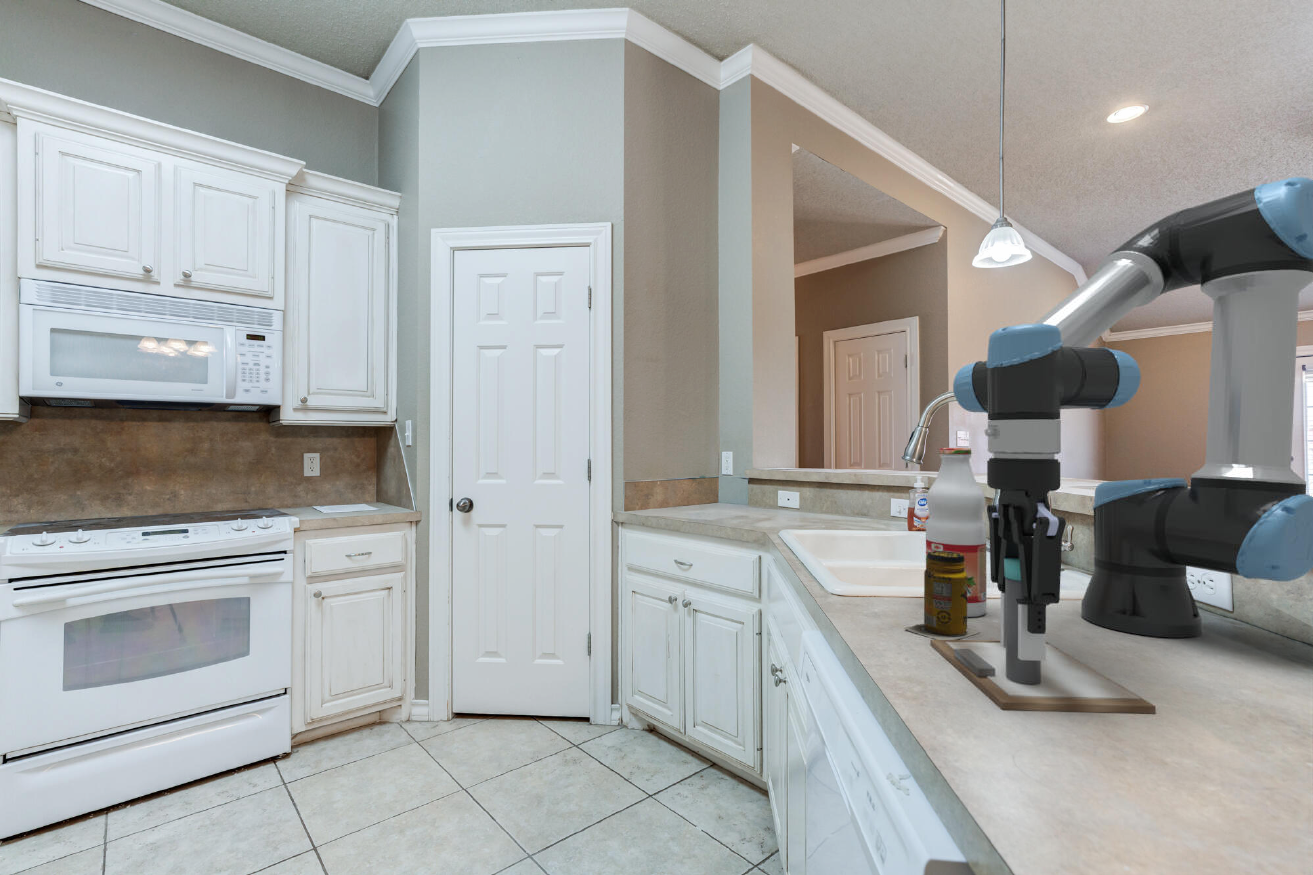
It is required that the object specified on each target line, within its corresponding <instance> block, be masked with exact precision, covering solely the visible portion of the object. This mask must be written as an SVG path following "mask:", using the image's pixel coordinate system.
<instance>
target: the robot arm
mask: <svg viewBox="0 0 1313 875" xmlns="http://www.w3.org/2000/svg"><path fill="white" fill-rule="evenodd" d="M1312 283H1313V179H1312V178H1309V177H1303V176H1294V177H1289V178H1285V179H1281V180H1278V181H1274V182H1271V183H1261V184H1259V185H1257V186H1256V187H1253V188H1250V189H1247V190H1243V191H1240V192H1237V193H1233V194H1230V195H1227V196H1225V197H1221V198H1218V199H1214V200H1212V201H1211V200H1210V201H1209V202H1205V203H1202V204H1198V205H1196V206H1193V207H1189V208H1188V207H1187V208H1185V209H1181V210H1179V211H1176V212H1173V213H1171V214H1169V215H1167V216H1164V217H1163V218H1161V219H1159V220H1158V221H1155V222H1153V223H1152V224H1150V225H1149V226H1148V227H1145V229H1143V230H1141V231H1140V232H1138V233H1137V234H1135V235H1134V236H1132V237H1131V238H1129V239H1128V240H1127V241H1125V242H1124V243H1123V244H1121V245H1120V246H1119V247H1117V248H1116V249H1114V250H1113V251H1112V252H1111V253H1109V254H1108V255H1107V256H1106V257H1104V258H1103V259H1102V260H1101V261H1100V263H1098V265H1097V267H1096V270H1095V273H1094V275H1093V276H1092V277H1089V279H1088V280H1087V281H1085V282H1084V283H1083V284H1082V285H1080V286H1079V287H1078V288H1076V289H1075V290H1074V291H1073V292H1072V293H1070V294H1069V295H1067V297H1065V298H1064V299H1063V300H1061V301H1060V302H1059V303H1058V304H1057V305H1056V306H1054V307H1052V309H1051V310H1049V311H1048V312H1046V314H1044V315H1043V316H1042V317H1040V319H1038V320H1037V321H1036V322H1034V323H1026V324H1025V323H1024V324H1019V325H1018V324H1017V325H1009V326H1006V327H1001V328H998V329H996V330H995V331H993V332H992V333H991V334H990V336H989V339H988V345H987V347H988V348H987V359H986V360H985V361H982V360H978V361H974V362H973V363H968V364H966V365H964V366H961V368H960V369H959V370H958V371H957V373H956V374H955V376H954V379H953V384H952V390H953V394H954V397H955V400H956V402H957V404H959V406H960V407H961V408H962V409H964V411H967V412H971V413H987V428H985V429H984V435H985V436H986V437H987V451H988V452H989V453H990V454H992V456H993V457H989V458H988V460H987V462H986V464H987V465H986V471H987V472H986V475H987V476H986V478H987V479H986V480H987V481H986V484H987V486H988V487H989V488H990V489H995V490H999V496H998V498H997V504H988V505H986V513H987V514H986V515H987V518H988V524H989V525H988V526H989V527H988V528H989V531H988V532H989V559H990V560H989V561H990V562H989V564H990V566H989V567H990V580H991V582H992V583H993V584H996V585H997V586H996V587H997V590H998V591H999V592H1000V641H1001V646H1002V647H1003V648H1006V610H1005V576H1004V559H1006V558H1019V561H1020V573H1021V584H1022V596H1023V599H1016V601H1017V603H1018V658H1019V659H1021V660H1036V661H1046V642H1047V632H1046V631H1047V615H1046V614H1047V606H1049V605H1053V604H1055V605H1056V604H1057V605H1058V604H1059V602H1060V599H1061V597H1060V596H1061V576H1062V575H1061V573H1062V572H1061V571H1062V549H1063V548H1062V547H1063V546H1062V545H1063V535H1064V532H1065V529H1066V525H1067V522H1066V518H1065V517H1064V516H1054V515H1053V514H1052V512H1051V504H1050V502H1049V501H1050V500H1049V496H1048V494H1049V492H1055V491H1058V490H1059V489H1060V487H1061V461H1059V459H1058V458H1056V455H1059V454H1060V453H1061V452H1062V448H1061V446H1062V445H1061V441H1062V440H1061V438H1062V435H1061V434H1062V431H1061V430H1062V428H1061V427H1062V424H1061V423H1062V422H1061V410H1073V409H1079V410H1080V409H1090V410H1092V411H1093V410H1105V409H1115V408H1117V407H1121V406H1123V405H1125V404H1127V403H1128V402H1129V401H1131V399H1132V398H1133V397H1134V396H1135V395H1136V394H1137V391H1138V390H1139V388H1140V385H1141V379H1142V378H1141V377H1142V376H1141V369H1140V367H1139V364H1138V362H1137V361H1136V360H1135V358H1134V357H1132V356H1131V355H1130V354H1128V353H1126V352H1124V351H1122V350H1117V349H1110V348H1107V347H1104V346H1103V347H1102V346H1101V347H1090V345H1091V344H1092V343H1094V342H1095V341H1096V340H1098V339H1099V338H1100V337H1102V336H1103V334H1105V333H1106V332H1107V331H1108V330H1109V329H1111V328H1112V327H1114V325H1115V324H1117V323H1118V322H1119V321H1120V320H1121V319H1123V318H1124V317H1125V316H1126V315H1127V314H1128V313H1130V312H1131V311H1132V310H1134V309H1135V308H1139V307H1143V306H1146V305H1149V304H1150V303H1152V302H1153V301H1154V300H1156V299H1157V298H1158V297H1159V296H1161V295H1164V294H1166V293H1169V292H1172V291H1175V290H1179V289H1183V288H1188V287H1192V286H1197V285H1198V286H1199V285H1200V291H1201V292H1202V293H1203V294H1204V295H1207V296H1208V297H1210V298H1211V300H1212V301H1213V305H1212V306H1213V308H1212V309H1213V310H1212V325H1211V326H1212V327H1211V328H1212V329H1211V347H1210V367H1209V369H1210V372H1209V385H1208V386H1209V387H1208V388H1209V391H1208V407H1207V408H1208V410H1207V411H1208V412H1207V426H1206V427H1207V428H1206V448H1205V464H1204V465H1203V466H1202V467H1201V468H1200V469H1198V470H1196V471H1195V472H1194V473H1192V474H1191V476H1190V488H1189V484H1188V483H1187V480H1186V479H1185V478H1183V477H1164V478H1163V477H1162V478H1148V479H1147V478H1146V479H1145V478H1144V479H1130V480H1129V479H1127V480H1124V479H1123V480H1113V481H1112V480H1111V481H1105V482H1101V483H1100V484H1098V485H1097V486H1096V488H1095V490H1094V501H1093V505H1092V511H1093V552H1094V553H1093V556H1094V558H1093V564H1094V565H1093V567H1094V568H1093V572H1092V575H1091V577H1090V580H1089V582H1088V585H1087V587H1086V590H1085V593H1084V596H1083V598H1082V600H1081V611H1080V612H1081V617H1082V618H1083V619H1084V620H1086V621H1088V622H1089V623H1093V624H1095V625H1097V626H1101V627H1103V628H1108V629H1111V630H1114V631H1115V630H1117V631H1120V632H1125V633H1131V634H1134V635H1135V634H1136V635H1143V636H1150V637H1160V638H1161V637H1162V638H1191V637H1197V636H1199V635H1202V633H1203V632H1202V631H1203V630H1202V628H1203V627H1202V623H1203V622H1202V616H1201V613H1200V612H1199V609H1198V606H1197V603H1196V601H1195V598H1194V595H1193V594H1192V591H1191V588H1190V586H1189V584H1188V578H1187V567H1190V568H1195V569H1201V570H1206V571H1207V570H1208V571H1213V572H1217V573H1218V572H1219V573H1223V574H1224V573H1225V574H1229V575H1235V576H1240V577H1243V578H1245V579H1247V580H1248V579H1249V580H1251V579H1255V580H1265V581H1271V582H1272V581H1274V582H1291V581H1295V580H1298V579H1300V578H1302V577H1303V576H1305V575H1307V574H1308V573H1309V572H1311V570H1312V569H1313V496H1312V495H1310V494H1307V481H1305V480H1304V479H1303V478H1302V477H1301V476H1300V475H1298V474H1297V473H1296V472H1294V471H1293V468H1292V450H1293V449H1292V448H1293V428H1294V427H1293V426H1294V410H1295V409H1294V406H1295V402H1294V401H1295V387H1296V386H1295V384H1296V383H1295V382H1296V362H1297V361H1296V360H1297V344H1298V343H1297V342H1298V341H1297V340H1298V322H1299V318H1298V317H1299V300H1300V299H1299V297H1300V296H1299V295H1300V293H1301V292H1302V290H1304V289H1305V288H1307V287H1308V286H1309V285H1311V284H1312Z"/></svg>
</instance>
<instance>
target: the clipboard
mask: <svg viewBox="0 0 1313 875" xmlns="http://www.w3.org/2000/svg"><path fill="white" fill-rule="evenodd" d="M930 647H932V648H933V649H934V650H935V651H936V652H938V653H939V654H940V655H941V656H942V657H943V658H944V659H945V660H947V661H948V662H949V663H950V665H952V666H953V667H955V669H956V670H958V671H959V673H961V674H962V675H963V676H964V677H965V678H966V679H968V680H969V682H971V683H972V684H973V685H975V687H977V688H978V690H980V691H981V692H982V693H983V694H984V695H985V696H987V698H989V700H991V701H992V702H993V703H995V705H997V706H998V707H999V708H1000V709H1001V710H1003V711H1004V710H1005V711H1006V710H1007V711H1041V712H1043V711H1044V712H1078V713H1079V712H1080V713H1081V712H1083V713H1084V712H1085V713H1088V712H1089V713H1118V714H1119V713H1120V714H1151V715H1152V714H1153V715H1156V714H1157V713H1156V712H1157V709H1156V705H1154V704H1152V703H1151V702H1149V701H1147V700H1146V699H1144V698H1142V697H1140V696H1139V695H1138V694H1136V693H1134V692H1133V691H1130V690H1129V689H1127V688H1125V687H1124V686H1122V685H1120V684H1119V683H1117V682H1116V681H1114V680H1112V679H1110V678H1109V677H1107V676H1105V675H1104V674H1102V673H1101V672H1098V671H1097V670H1095V669H1093V668H1092V667H1090V666H1088V665H1087V664H1085V663H1083V662H1081V661H1080V660H1078V659H1076V658H1074V657H1073V656H1071V655H1069V654H1068V653H1067V652H1064V651H1063V650H1061V649H1059V648H1058V647H1056V646H1054V645H1053V644H1051V643H1049V642H1047V641H1046V661H1041V683H1039V684H1023V683H1018V682H1015V681H1012V680H1010V679H1008V678H1007V677H1006V648H1003V647H1002V646H1001V640H982V639H981V640H978V639H977V640H976V639H975V640H974V639H973V640H972V639H969V640H968V639H956V640H937V639H930Z"/></svg>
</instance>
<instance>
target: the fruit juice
mask: <svg viewBox="0 0 1313 875" xmlns="http://www.w3.org/2000/svg"><path fill="white" fill-rule="evenodd" d="M939 457H940V459H941V462H940V463H941V464H940V468H939V470H938V473H937V476H936V478H935V480H934V482H933V483H932V485H931V486H930V487H929V489H928V492H927V493H926V506H927V508H928V512H929V518H928V520H927V522H926V527H925V569H926V568H927V565H926V564H927V561H928V559H927V555H928V553H929V552H933V551H948V552H955V553H959V554H962V555H963V556H964V559H965V560H964V564H965V569H964V571H965V572H966V574H967V618H977V617H982V616H983V615H985V614H986V611H987V529H986V525H985V523H984V521H983V514H984V511H985V507H986V497H985V493H984V491H983V490H982V488H981V487H980V486H979V484H978V483H977V480H976V479H975V478H976V477H975V475H974V473H973V470H972V467H971V463H970V459H971V458H972V448H969V447H941V448H940V449H939Z"/></svg>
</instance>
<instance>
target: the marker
mask: <svg viewBox="0 0 1313 875" xmlns="http://www.w3.org/2000/svg"><path fill="white" fill-rule="evenodd" d="M1004 576H1005V610H1006V677H1007V678H1008V679H1010V680H1012V681H1015V682H1018V683H1023V684H1039V683H1041V661H1036V660H1021V659H1019V658H1018V603H1017V601H1016V599H1023V596H1022V584H1021V573H1020V561H1019V558H1006V559H1004Z"/></svg>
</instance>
